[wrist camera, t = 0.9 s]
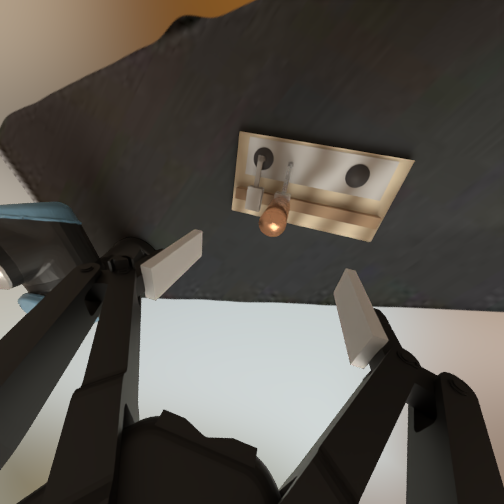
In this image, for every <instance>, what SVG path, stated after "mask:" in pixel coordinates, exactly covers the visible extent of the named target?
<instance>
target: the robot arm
mask: <svg viewBox="0 0 504 504" xmlns="http://www.w3.org/2000/svg"><path fill="white" fill-rule="evenodd" d="M81 224H82V223H81V222H80V221H79V220H78V219H77V217H76V216H75V214H74V213H73V211H72V209H71V208H70V207H69V206H68V205H66V204H64V203H61V202H39V203H22V204H7V205H0V289H7V290H8V289H10V288H13V287H16V286H18V285H21V284H22V285H23V286H24V287H25V288H26V289H27V291H28V293H25V294H23V295H22V296H21V297H20V298H19V299H18V304H20V307H21V308H22V309H23V310H24V311H25V312H26V313H27V314H26V315H25V316H24V317H23V318H22V319H21V320H20V321H19V322H18V323H17V324H16V325H15V326H14V327H13V328H12V329H11V330H10V331H9V332H8V333H7V334H6V335H5V336H4V337H3V338H2V339H1V340H0V470H1V468H2V467H3V466H4V464H5V463H6V462H7V460H8V459H9V458H10V456H11V455H12V454H13V452H14V451H15V450H16V448H17V446H18V445H19V444H20V442H21V440H22V439H23V437H24V436H25V434H26V433H27V431H28V430H29V428H30V427H31V425H32V423H33V421H34V420H35V418H36V417H37V415H38V414H39V412H40V410H41V409H42V407H43V405H44V404H45V402H46V400H47V399H48V397H49V396H50V394H51V392H52V391H53V389H54V387H55V386H56V384H57V382H58V381H59V379H60V378H61V376H62V374H63V373H64V371H65V369H66V368H67V366H68V365H69V363H70V361H71V360H72V358H73V357H74V355H75V353H76V352H77V350H78V348H79V347H80V345H81V343H82V342H83V340H84V338H85V337H86V335H87V334H88V332H89V330H90V329H91V327H92V326H93V324H94V323H95V322H97V321H98V325H97V328H96V332H95V336H94V340H93V344H92V348H91V352H90V356H89V360H88V364H87V368H86V372H85V376H84V380H83V383H82V386H81V387H80V388H79V389H76V390H75V392H74V393H73V395H72V398H71V400H70V404H69V408H68V411H67V415H66V418H65V422H64V425H63V429H62V432H61V436H60V439H59V443H58V447H57V450H56V454H55V457H54V460H53V464H52V467H51V471H50V475H49V478H48V482H47V483H46V484H44V485H43V486H41V487H40V488H38V489H37V490H35V491H34V492H33V493H31V494H30V495H28V496H27V497H25V498H24V499H22V500H21V501H20V502H18V503H17V504H359V501H360V498H361V496H362V494H363V492H364V490H365V488H366V485H367V483H368V481H369V479H370V477H371V475H372V473H373V471H374V468H375V466H376V464H377V462H378V460H379V458H380V456H381V453H382V451H383V449H384V447H385V445H386V443H387V441H388V439H389V437H390V435H391V432H392V430H393V428H394V426H395V424H396V422H397V420H398V417H399V415H400V413H401V411H402V409H403V407H404V405H405V403H407V404H408V444H407V445H408V447H407V491H406V504H504V487H503V483H502V480H501V476H500V473H499V470H498V466H497V463H496V459H495V456H494V452H493V449H492V446H491V442H490V439H489V436H488V432H487V429H486V425H485V422H484V419H483V415H482V412H481V408H480V405H479V401H478V398H477V397H476V394H475V393H474V392H473V390H472V389H471V388H470V387H469V386H468V385H467V384H466V383H465V382H464V381H462V380H461V379H459V378H458V377H456V376H455V375H452V374H451V373H447V372H443V373H440V374H439V375H438V376H437V375H435V374H433V373H432V372H430V371H428V370H426V369H424V368H422V367H421V366H420V364H419V362H418V360H417V359H416V358H415V357H414V356H413V355H412V354H411V353H410V352H408V351H407V350H405V349H403V348H402V347H401V345H400V343H399V341H398V339H397V337H396V335H395V333H394V332H393V330H392V328H391V326H390V324H389V322H388V320H387V319H386V317H385V315H384V314H383V313H382V312H381V311H380V310H378V309H375V308H373V307H372V304H371V302H370V300H369V298H368V296H367V294H366V292H365V290H364V288H363V286H362V284H361V281H360V279H359V277H358V275H357V273H356V271H354V270H350V269H345V271H344V273H343V275H342V277H341V279H340V281H339V283H338V285H337V287H336V289H335V291H334V297H335V302H336V306H337V310H338V314H339V318H340V323H341V327H342V331H343V335H344V339H345V344H346V348H347V352H348V356H349V360H350V365H353V366H356V367H360V368H362V369H364V368H365V367H366V366H367V365H368V364H369V365H370V368H371V371H370V372H369V373H368V374H367V375H366V377H365V378H364V379H363V381H362V383H361V384H360V385H359V387H358V388H357V389H356V390H355V392H354V393H353V394H352V396H351V397H350V398H349V400H348V401H347V402H346V404H345V405H344V406H343V407H342V409H341V410H340V411H339V413H338V414H337V415H336V417H335V418H334V419H333V421H332V422H331V423H330V425H329V426H328V427H327V429H326V430H325V431H324V433H323V434H322V435H321V436H320V438H319V439H318V441H317V442H316V443H315V444H314V446H313V447H312V448H311V450H310V451H309V452H308V454H307V455H306V456H305V458H304V459H303V460H302V462H301V463H300V464H299V465H298V467H297V468H296V469H295V471H294V472H293V473H292V474H291V475H290V476H289V478H288V479H287V480H286V481H285V482H284V484H283V485H282V487H281V488H280V489H279V490H278V488H277V485H276V483H275V481H274V479H273V477H272V475H271V474H270V472H269V470H268V469H267V467H266V466H265V465H264V464H263V462H262V461H261V460H260V459H259V458H258V457H257V456H256V454H257V448H255V447H253V446H250V445H248V444H245V443H243V442H241V441H238V440H236V439H234V438H208V437H205V436H204V435H202V434H201V433H200V432H199V431H198V430H197V429H196V428H195V427H194V426H193V425H192V424H191V423H190V422H189V421H187V420H186V419H185V418H183V417H181V416H178V415H176V414H173V413H171V412H169V411H166V410H163V412H162V413H161V415H160V416H155V417H149V418H145V419H143V420H140V421H139V409H138V381H139V351H140V322H141V294H142V293H143V292H145V294H146V298H149V299H152V300H157V299H158V298H159V297H160V296H161V295H162V294H163V293H164V292H165V291H166V290H167V289H168V288H169V287H170V286H171V285H172V284H173V283H174V282H175V281H176V280H178V279H179V278H180V277H181V276H182V275H183V274H184V273H185V272H186V271H187V270H188V269H189V268H190V267H191V266H192V265H193V264H194V263H195V262H196V261H197V260H198V259H199V258H200V257H201V256H202V231H200V230H196V229H194V230H193V231H191V232H190V233H188V234H187V235H185V236H184V237H182V238H181V239H179V240H178V241H176V242H175V243H173V244H172V245H170V246H169V247H167V248H166V249H159V250H156V251H155V250H154V249H153V248H152V247H151V246H150V245H149V244H147V243H146V242H144V241H142V240H140V239H138V238H133V237H128V238H125V239H123V240H120V241H118V242H117V243H115V244H114V246H113V247H112V248H111V249H110V250H109V251H108V252H107V253H106V254H105V255H104V256H102V257H101V258H99V256H98V254H97V252H96V251H95V249H94V247H93V245H92V243H91V242H90V240H89V238H88V236H87V234H86V232H85V231H84V229H83V227H82V225H81Z"/></svg>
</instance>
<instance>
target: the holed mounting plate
mask: <svg viewBox="0 0 504 504" xmlns="http://www.w3.org/2000/svg"><path fill="white" fill-rule="evenodd" d="M289 161H294V166H293V168H292V172H291V176H290V180H289V184H288V188H287V192H286V193H290V194H291V198H290V201H289V203H290V211H289V215H288V219H287V223H290V224H295V225H299V226H303V227H308V228H312V229H316V230H320V231H325V232H329V233H333V234H338V235H342V236H346V237H351V238H355V239H359V240H364V241H368V242H371V240H372V238H373V237H374V235H375V233H376V231H377V229H378V227H379V225H380V224H381V222H382V220H383V218H384V216H385V214H386V213H387V211H388V209H389V207H390V205H391V203H392V202H393V200H394V198H395V196H396V194H397V192H398V191H399V189H400V187H401V185H402V183H403V181H404V179H405V178H406V176H407V174H408V172H409V170H410V168H411V167H412V165H413V163H414V160H408V159H402V158H396V157H390V156H385V155H379V154H373V153H367V152H361V151H355V150H349V149H343V148H337V147H331V146H325V145H319V144H313V143H307V142H301V141H295V140H289V139H283V138H277V137H271V136H265V135H259V134H253V133H247V132H241V131H240V134H239V144H238V154H237V163H236V173H235V183H234V193H233V203H232V210H234V211H239V212H243V213H247V214H252V215H256V216H260V217H261V216H262V214H263V213H264V211H265V210H266V209H267V207H268V206H269V204H270V203H271V202H272V200H273V199H274V195H275V193H276V192H277V191H281V192H282V188H283V184H284V180H285V175H286V171H287V167H288V162H289Z"/></svg>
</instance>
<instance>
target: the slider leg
mask: <svg viewBox="0 0 504 504" xmlns="http://www.w3.org/2000/svg"><path fill="white" fill-rule="evenodd" d="M293 166H294V161H289V162H288V167H287V171H286V175H285V180H284V184H283V188H282V192H281V191H277V192H276V193H275V195H274V199H273V200H272V202H271V203H270V204H269V206H268V207H267V209H266V210H265V211H264V213H263V214H262V216H261V217H260V219H259V227H260V230H261V231H262V232H263V233H264V234H265V235H267V236H270V237H275V236H278V235H280V234H282V233H283V231H284V230H285V227H286V223H287V219H288V215H289V211H290V203H289V201H290V198H291V194H290V193H286V192H287V188H288V184H289V180H290V176H291V172H292V168H293Z"/></svg>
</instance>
